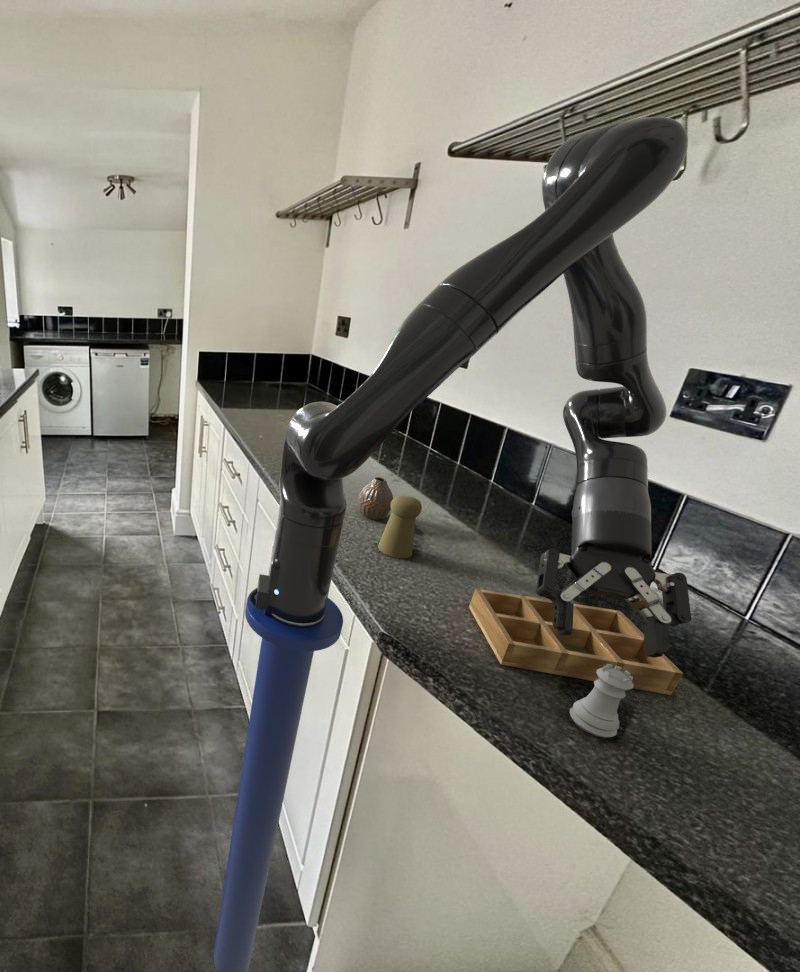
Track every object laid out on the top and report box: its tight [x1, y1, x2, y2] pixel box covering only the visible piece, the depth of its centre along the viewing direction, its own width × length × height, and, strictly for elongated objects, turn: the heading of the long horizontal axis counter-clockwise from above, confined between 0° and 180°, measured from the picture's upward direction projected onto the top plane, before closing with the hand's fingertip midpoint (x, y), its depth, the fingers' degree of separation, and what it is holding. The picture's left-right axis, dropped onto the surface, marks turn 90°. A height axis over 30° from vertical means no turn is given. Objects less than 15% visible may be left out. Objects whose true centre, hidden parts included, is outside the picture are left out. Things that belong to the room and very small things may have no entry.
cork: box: [377, 494, 423, 559], centre depth 95 cm, size 6×6×11 cm
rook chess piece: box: [569, 664, 634, 738], centre depth 58 cm, size 4×4×8 cm
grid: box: [468, 588, 684, 696], centre depth 72 cm, size 20×13×4 cm
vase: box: [357, 476, 394, 521], centre depth 109 cm, size 7×7×9 cm
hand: (608, 645), depth 60 cm, fingers open, 8 cm apart
